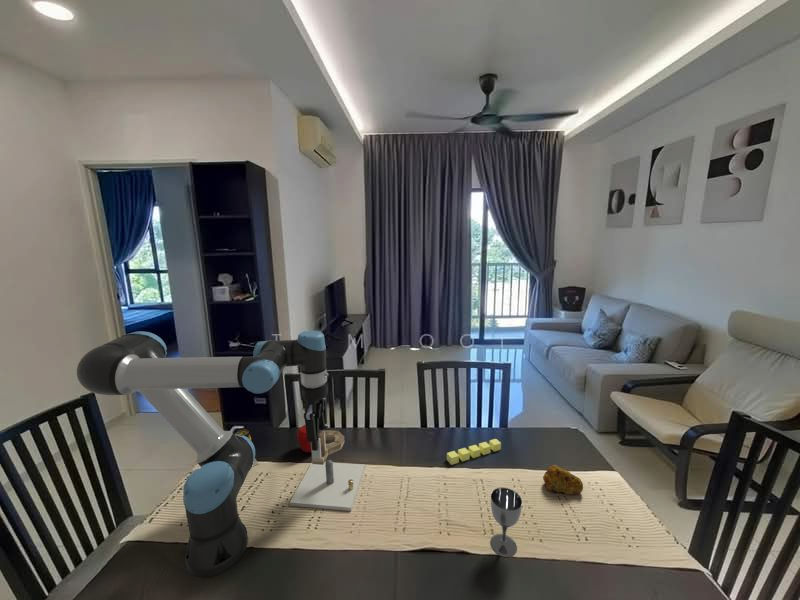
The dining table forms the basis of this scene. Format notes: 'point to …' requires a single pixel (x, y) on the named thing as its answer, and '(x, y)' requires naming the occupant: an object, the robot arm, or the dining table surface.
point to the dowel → (350, 484)
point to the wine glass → (505, 519)
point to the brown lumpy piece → (562, 481)
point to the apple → (303, 439)
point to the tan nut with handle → (329, 445)
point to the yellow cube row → (473, 451)
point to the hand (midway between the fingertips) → (319, 453)
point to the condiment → (246, 433)
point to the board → (329, 486)
